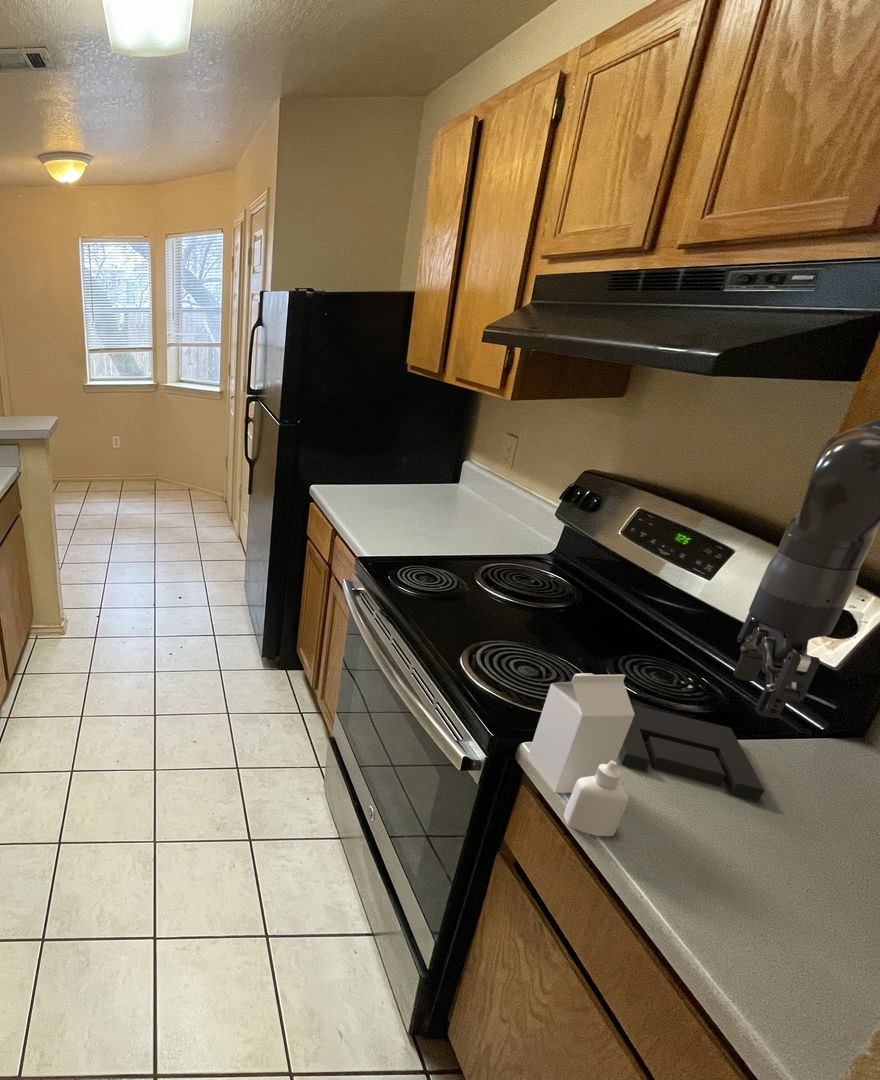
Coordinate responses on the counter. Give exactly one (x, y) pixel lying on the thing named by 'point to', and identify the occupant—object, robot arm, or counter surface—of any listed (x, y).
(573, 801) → the eye dropper bottle
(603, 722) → the milk carton
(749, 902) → the counter surface
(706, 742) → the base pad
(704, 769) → the small pad
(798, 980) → the counter surface
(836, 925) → the counter surface
